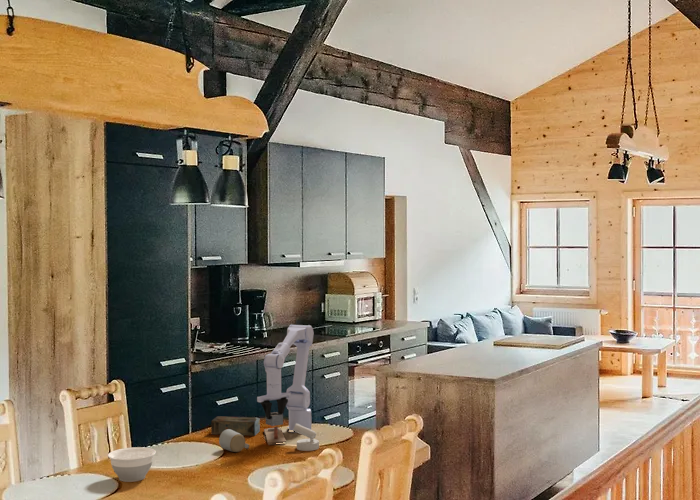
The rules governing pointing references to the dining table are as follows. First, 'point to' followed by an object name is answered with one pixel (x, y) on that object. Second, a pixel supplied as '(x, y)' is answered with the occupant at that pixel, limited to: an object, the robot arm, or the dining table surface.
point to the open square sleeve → (275, 419)
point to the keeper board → (274, 435)
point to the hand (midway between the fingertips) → (274, 417)
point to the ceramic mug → (232, 441)
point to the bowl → (131, 463)
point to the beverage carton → (235, 425)
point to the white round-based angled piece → (306, 443)
